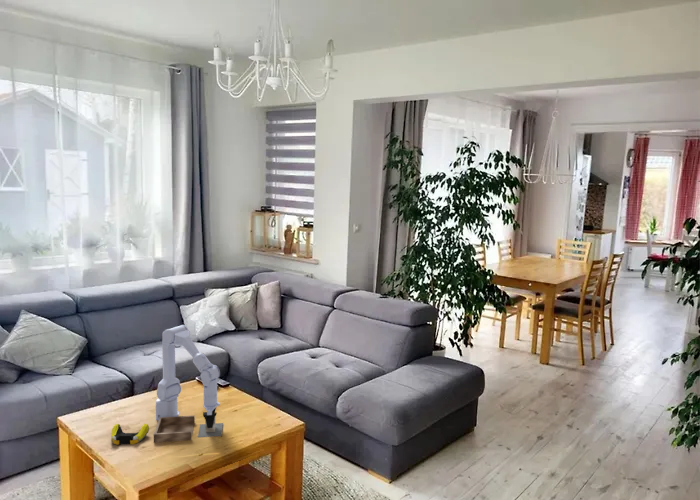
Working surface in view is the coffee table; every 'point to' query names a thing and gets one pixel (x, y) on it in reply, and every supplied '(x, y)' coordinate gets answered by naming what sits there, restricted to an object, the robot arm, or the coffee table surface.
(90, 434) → the coffee table surface
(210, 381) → the robot arm
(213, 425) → the block
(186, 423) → the crate
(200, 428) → the mat
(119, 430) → the gaming controller
